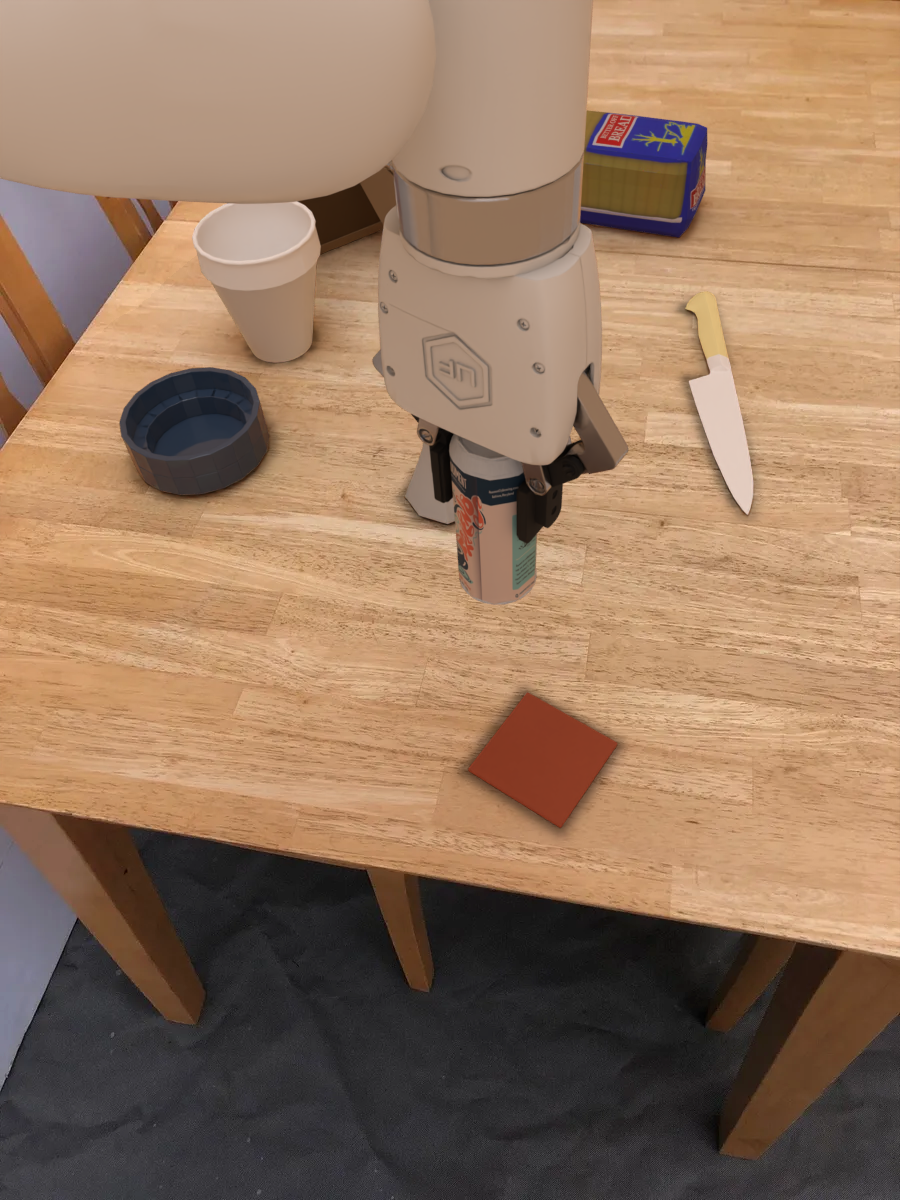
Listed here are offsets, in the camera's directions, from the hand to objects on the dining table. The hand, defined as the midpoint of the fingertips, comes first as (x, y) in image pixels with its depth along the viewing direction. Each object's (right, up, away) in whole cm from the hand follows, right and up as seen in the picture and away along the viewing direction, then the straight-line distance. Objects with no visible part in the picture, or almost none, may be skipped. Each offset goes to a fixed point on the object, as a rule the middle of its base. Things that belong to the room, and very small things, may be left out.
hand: (495, 503), depth 52 cm
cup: (-21, +23, +50) cm, 59 cm away
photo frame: (-12, +37, +60) cm, 72 cm away
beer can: (0, -4, +6) cm, 7 cm away
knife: (+24, +15, +41) cm, 49 cm away
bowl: (-27, +9, +40) cm, 49 cm away
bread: (+16, +43, +63) cm, 78 cm away
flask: (-3, +4, +34) cm, 35 cm away
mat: (+4, -17, +17) cm, 25 cm away
